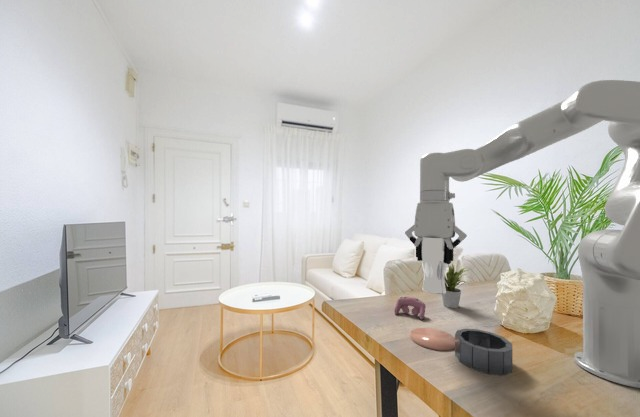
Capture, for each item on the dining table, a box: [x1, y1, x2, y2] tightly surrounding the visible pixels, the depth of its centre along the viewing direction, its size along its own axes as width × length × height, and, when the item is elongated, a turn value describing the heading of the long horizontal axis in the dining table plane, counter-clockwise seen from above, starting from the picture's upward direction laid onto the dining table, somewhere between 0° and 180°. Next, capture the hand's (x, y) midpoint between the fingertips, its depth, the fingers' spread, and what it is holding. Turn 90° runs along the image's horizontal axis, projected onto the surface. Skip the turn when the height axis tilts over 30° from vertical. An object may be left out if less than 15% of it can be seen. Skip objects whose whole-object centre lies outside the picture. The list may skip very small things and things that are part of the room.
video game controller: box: [394, 296, 427, 321], centre depth 91 cm, size 10×5×7 cm, turn 58°
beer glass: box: [420, 237, 448, 295], centre depth 73 cm, size 7×7×15 cm
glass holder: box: [454, 328, 513, 376], centre depth 62 cm, size 11×11×5 cm
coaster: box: [409, 327, 455, 352], centre depth 73 cm, size 12×12×1 cm
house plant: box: [441, 263, 472, 309], centre depth 99 cm, size 14×14×16 cm
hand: (433, 261), depth 73 cm, fingers closed on beer glass, 6 cm apart
